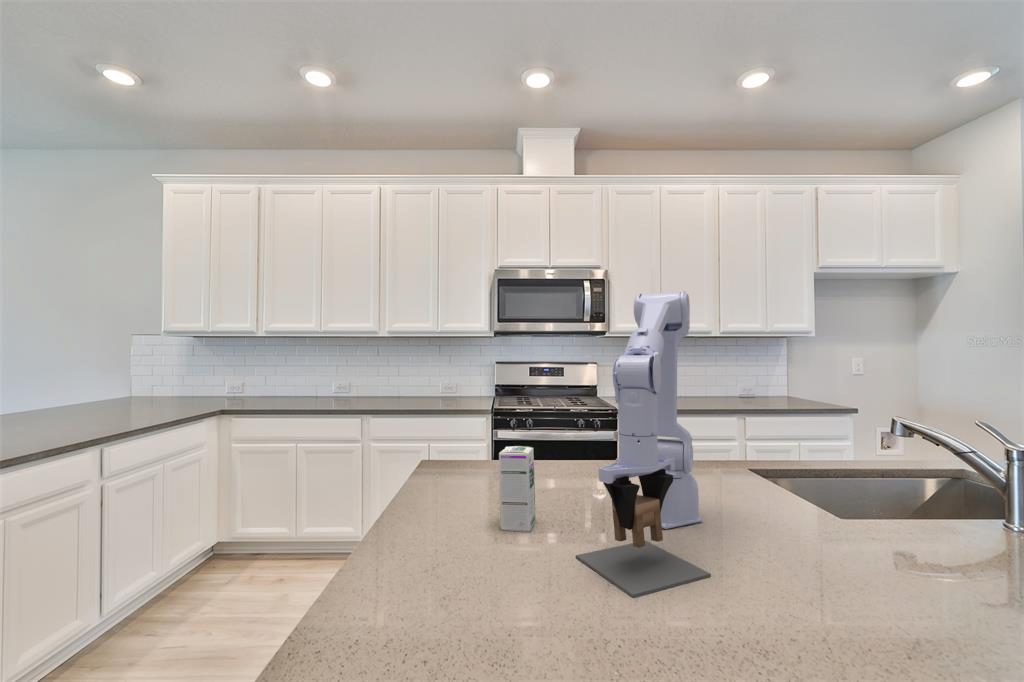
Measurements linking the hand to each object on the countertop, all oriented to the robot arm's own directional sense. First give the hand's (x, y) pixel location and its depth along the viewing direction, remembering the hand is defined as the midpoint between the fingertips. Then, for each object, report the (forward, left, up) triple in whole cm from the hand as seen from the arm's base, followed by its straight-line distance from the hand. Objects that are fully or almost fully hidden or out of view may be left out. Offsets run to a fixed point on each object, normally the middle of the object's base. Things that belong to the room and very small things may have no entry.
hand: (639, 523), depth 73 cm
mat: (0, 0, -6) cm, 6 cm away
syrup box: (+9, -24, -7) cm, 26 cm away
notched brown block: (0, 0, -2) cm, 3 cm away
